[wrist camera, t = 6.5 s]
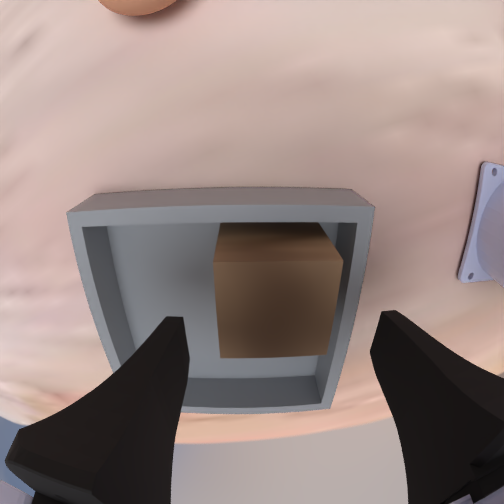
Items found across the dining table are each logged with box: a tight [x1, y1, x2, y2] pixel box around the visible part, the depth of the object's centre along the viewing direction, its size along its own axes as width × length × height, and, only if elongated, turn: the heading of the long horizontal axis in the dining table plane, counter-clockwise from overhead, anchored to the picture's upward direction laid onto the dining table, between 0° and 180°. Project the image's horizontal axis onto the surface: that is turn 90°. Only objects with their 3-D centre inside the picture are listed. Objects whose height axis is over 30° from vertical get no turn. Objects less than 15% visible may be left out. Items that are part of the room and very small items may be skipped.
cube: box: [213, 222, 343, 358], centre depth 13 cm, size 4×4×4 cm
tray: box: [66, 187, 375, 414], centre depth 16 cm, size 13×13×3 cm
